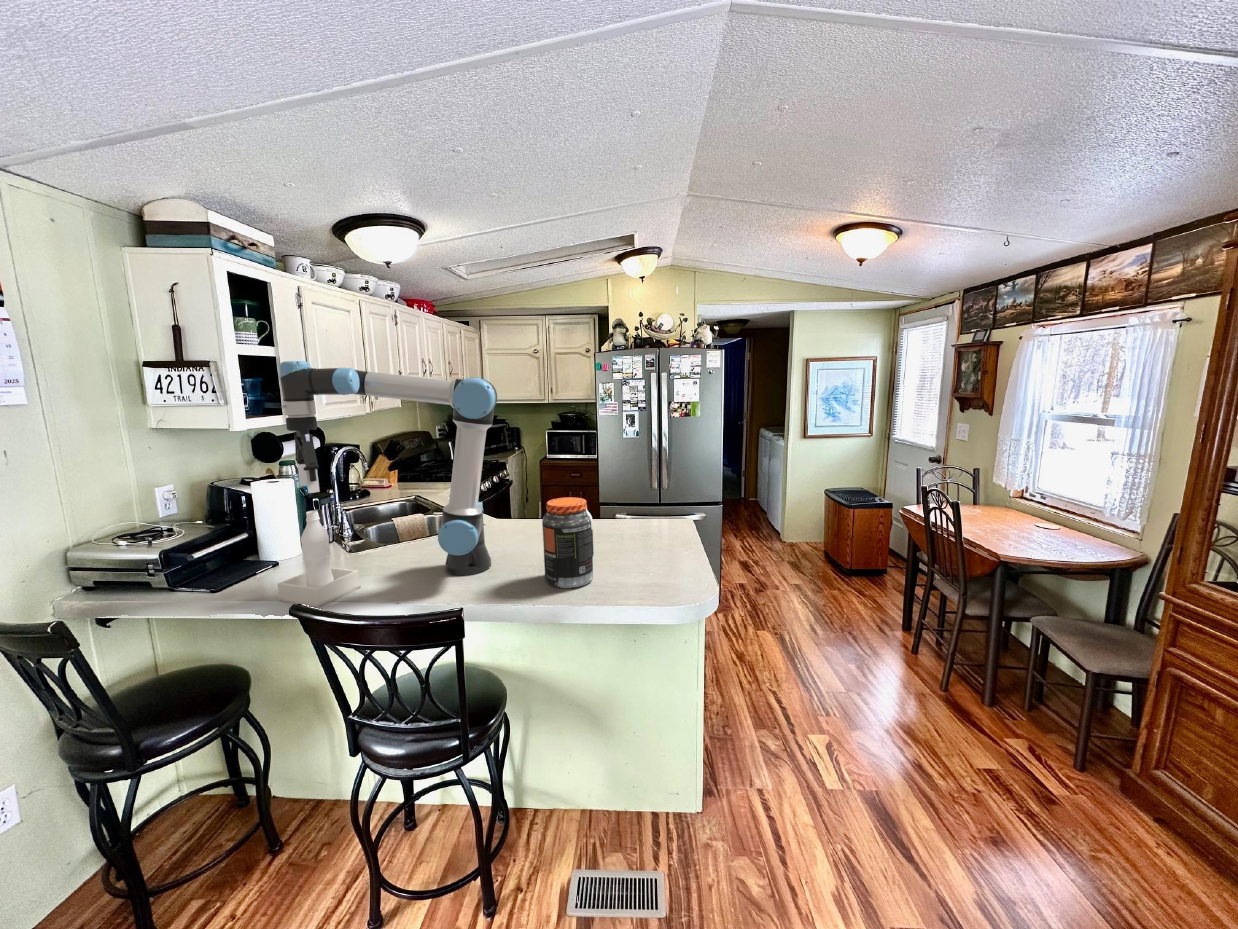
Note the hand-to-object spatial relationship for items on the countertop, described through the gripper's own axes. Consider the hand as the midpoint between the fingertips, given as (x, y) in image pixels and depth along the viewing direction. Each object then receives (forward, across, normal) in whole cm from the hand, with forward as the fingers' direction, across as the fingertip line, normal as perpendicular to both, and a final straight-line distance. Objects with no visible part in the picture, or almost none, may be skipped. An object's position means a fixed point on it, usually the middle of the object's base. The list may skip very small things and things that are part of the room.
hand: (309, 488), depth 147 cm
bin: (+33, 0, 0) cm, 33 cm away
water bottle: (+32, 0, 0) cm, 32 cm away
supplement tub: (+33, +42, +62) cm, 82 cm away
